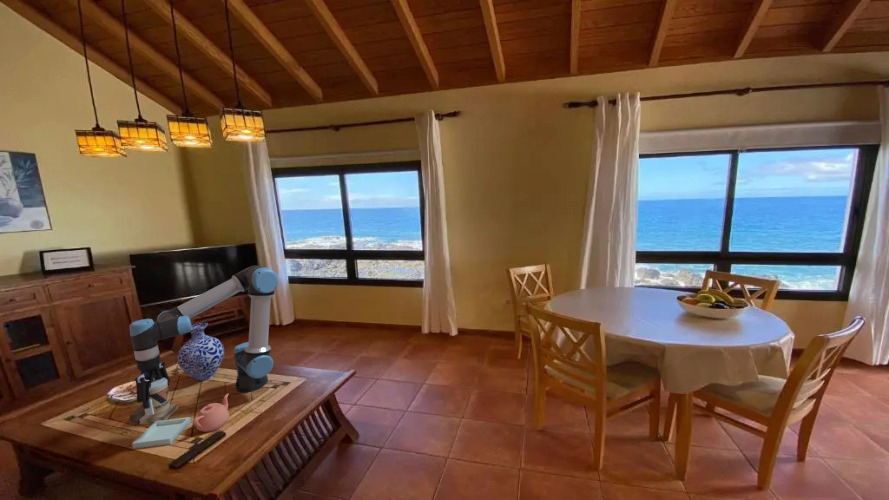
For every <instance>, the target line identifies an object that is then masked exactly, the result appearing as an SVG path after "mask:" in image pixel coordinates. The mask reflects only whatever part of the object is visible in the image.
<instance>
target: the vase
mask: <svg viewBox="0 0 889 500" xmlns="http://www.w3.org/2000/svg"><path fill="white" fill-rule="evenodd" d="M208 325H209V323H208V322H199V323H195V324H191V331H190V332H189V333H190V335H191V338H190V339H189V340H188V341H185V343H184V344H183V345H182V346H181V347H180V349H178V353H177V364H178V366H179V368H180V369H181V370H182V372H184V373H186V374H187V375H188V376H190V377H191V378H193V379H195V380H196V381H199V382H203V381H206V380H209V379H211V378H213V377H214V376H216V375H215V374H216V372H217V371H218V369H219V367H220V366H221V363H222V362H223V361H224V360H223V359H224V357H225V347H224V344H223V343H222V342H221V340H219V339H218V338H216V337H214V336H210V335H206V334H205V329H206V328H207V327H208Z"/></svg>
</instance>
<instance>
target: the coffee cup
mask: <svg viewBox="0 0 889 500" xmlns="http://www.w3.org/2000/svg"><path fill="white" fill-rule="evenodd" d="M148 381H150V380H148ZM167 382H168V381H167V379H166V378H162V379H158V380H155V379H153V382H152V383H151V387H150V388H149V392H150V398H149V399H151V400H152V405H153V410H154V414H158V413H161V412H163V411H165V410H166V409H168V408H169V404H170V396H169V386H168V384H167ZM168 383H169V382H168ZM154 414H153V415H154Z"/></svg>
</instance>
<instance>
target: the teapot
mask: <svg viewBox="0 0 889 500" xmlns="http://www.w3.org/2000/svg"><path fill="white" fill-rule="evenodd" d="M229 394H230V393H226V394H225V395H224V397H223V400H222V403H218V402H213V403H212V402H211V403H208V404H207V405H205V406H204V407H202V409H200V410H199V412H198V414H197V416H196V417H195V418H194V419H193V421H192V422H193V425H195V427H196V429H197V430H198V431H200V432H204V433H208V432H213V431H216V430H218V429H220V428H222V427H223V426H224V425H225V424H226V423H227V422H228V421H229V420H230V413H229V410H228V409H229V402H228V396H229Z"/></svg>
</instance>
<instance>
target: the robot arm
mask: <svg viewBox="0 0 889 500" xmlns="http://www.w3.org/2000/svg"><path fill="white" fill-rule="evenodd" d="M279 282H280V280H279V276H278V274H277V273H276V271H274V270H273V269H271V268H269V267H265V266H262V265H251V266H249V267H247V268H244V269H242V270H241V271H239V272H237V273H235V274H233V275H231V278H230V279H228V280H226V281H224V282H222V283H220V284H218V285H217V286H214V287H213V288H211V289H208V290H207V291H204V292H202V293H201V294H199V295H197V296H196V297H194V298H191V299H190V300H188V301H186V302H184V303H182V304H180V305H179V306H176V307H174V308H172V309H169V310H164V311H162V312H161V313H159V314H158V316H157V317H156V318H157V319H156V321H155V322H154V320H153V319H152V318H146V319H145V318H144V319H143V318H142V319H139V320H135V321H133V322H131V323H130V324H129V326H128V328H129V336H130V339H131V343H132V344H131V345H132V349H133V353H134V358H135V365H136V368H137V370H139V371H140V375H139V377H136V378H135V379H134V382H135V384H136V385H135V386H136V403H142V404H143V407H144V409H145V414H146V415H153V414H154V410H153V405H152V400H151V399H149V398H150V392H149V388H150V387H151V383H152V382H153V379H155V380H158V379H162V378H166V379H167V381H168V382H167V384H168V387H169V385H170V382H171V379H170V377H169V373H168V372H167V369H166V364H165V362H162V360H161V355H160V350H159V345H158V341H161V340H165V339H169V338H172V337H177V336H181V335H185V334H187V333H191V332H190V331H191V325H192V322H191V319H192V318H194V317H196V316H197V315H199V314H201V313H203V312H205V311H207V310H208V309H210V308H212V307H214V306H215V305H217V304H220V303H221V302H224V301H226V300H227V299H229V298H231V297H232V296H234V295H236V294H238V293H240V292H243V293H244V292H247V296H249V297H250V315H249V330H248V331H249V332H248V341H247V342H243V343H241V344H238V345H236V346H235V347H234V349H233V355H234V361H235V367H236V374H237V376H236V380H235V391H236V392H238V393H249V392H254V391H256V390H258V389H261V388H262V387H264V386H265V385H267V383H268V382H269V378H268V377H269V376H268V374H269V373H270V372H271V371H272V369H273V368H274V359H273V358H272V357H271V356H272V347H271V346H270V345H269V334H270V333H269V330H270V329H269V328H270V320H271V319H270V315H271V314H270V313H271V300H272V299H271V298H272V297H273V296H275V290H276V289H277V288H278V285H279ZM149 380H150V381H149Z"/></svg>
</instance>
